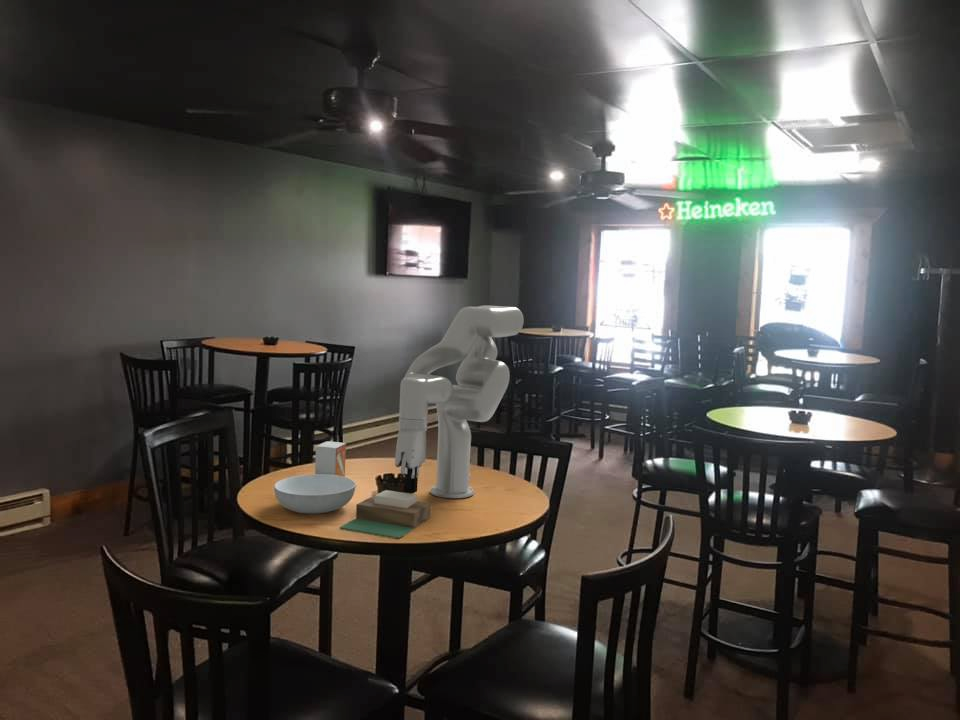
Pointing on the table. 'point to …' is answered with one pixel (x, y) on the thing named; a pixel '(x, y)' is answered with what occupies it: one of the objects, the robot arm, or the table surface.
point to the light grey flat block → (395, 499)
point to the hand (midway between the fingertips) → (410, 491)
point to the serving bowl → (314, 493)
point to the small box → (330, 458)
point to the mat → (376, 528)
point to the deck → (393, 513)
